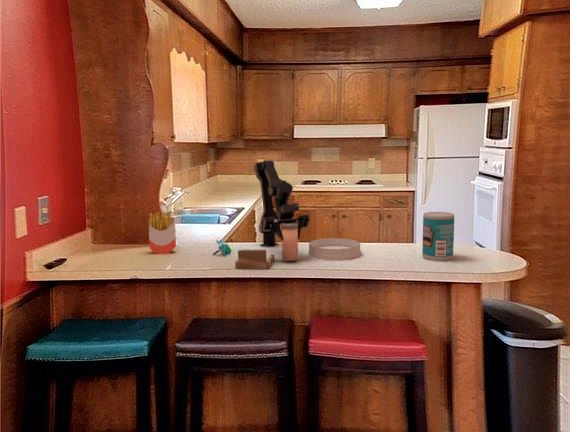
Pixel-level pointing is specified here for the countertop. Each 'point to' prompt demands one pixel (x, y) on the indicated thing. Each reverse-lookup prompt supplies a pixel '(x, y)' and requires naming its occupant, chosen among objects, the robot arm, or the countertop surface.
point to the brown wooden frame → (253, 259)
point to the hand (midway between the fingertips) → (290, 239)
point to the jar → (290, 241)
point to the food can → (438, 236)
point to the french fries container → (162, 233)
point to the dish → (334, 249)
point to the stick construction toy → (223, 248)
